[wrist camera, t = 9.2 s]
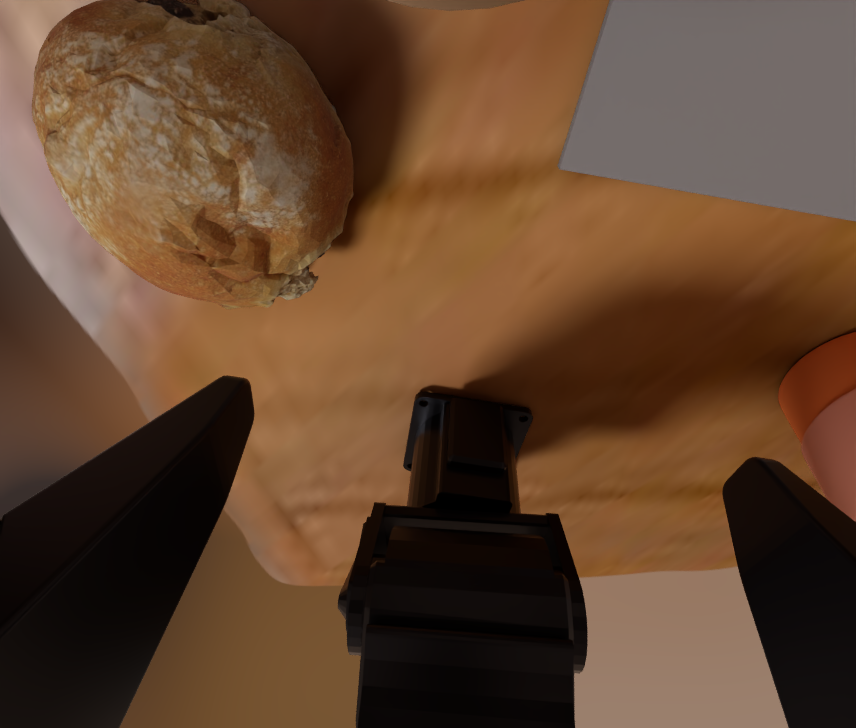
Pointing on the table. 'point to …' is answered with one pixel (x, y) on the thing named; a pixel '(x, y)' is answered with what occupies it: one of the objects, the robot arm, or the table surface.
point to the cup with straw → (826, 416)
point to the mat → (724, 101)
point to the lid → (454, 4)
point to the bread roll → (193, 146)
